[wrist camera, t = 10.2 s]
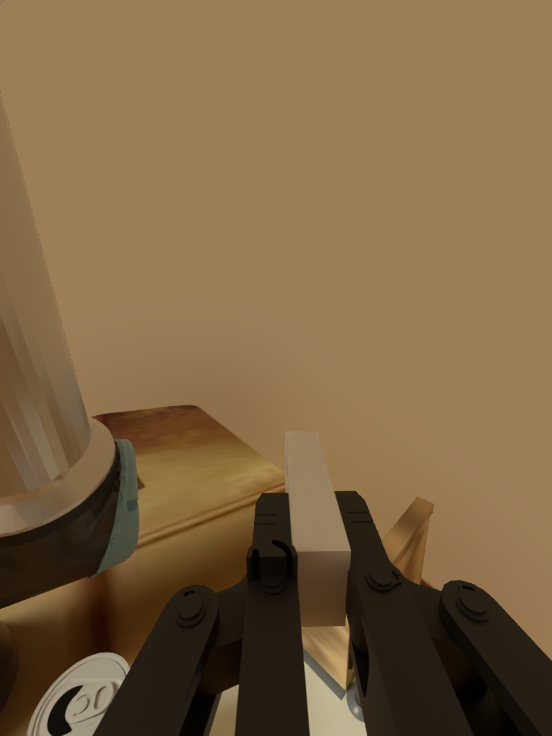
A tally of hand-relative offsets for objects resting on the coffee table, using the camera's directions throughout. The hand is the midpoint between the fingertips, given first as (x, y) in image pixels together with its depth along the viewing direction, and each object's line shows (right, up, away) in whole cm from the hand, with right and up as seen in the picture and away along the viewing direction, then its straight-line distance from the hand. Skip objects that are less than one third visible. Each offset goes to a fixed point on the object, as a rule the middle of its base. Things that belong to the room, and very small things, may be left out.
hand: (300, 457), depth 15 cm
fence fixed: (+11, -25, +17) cm, 32 cm away
